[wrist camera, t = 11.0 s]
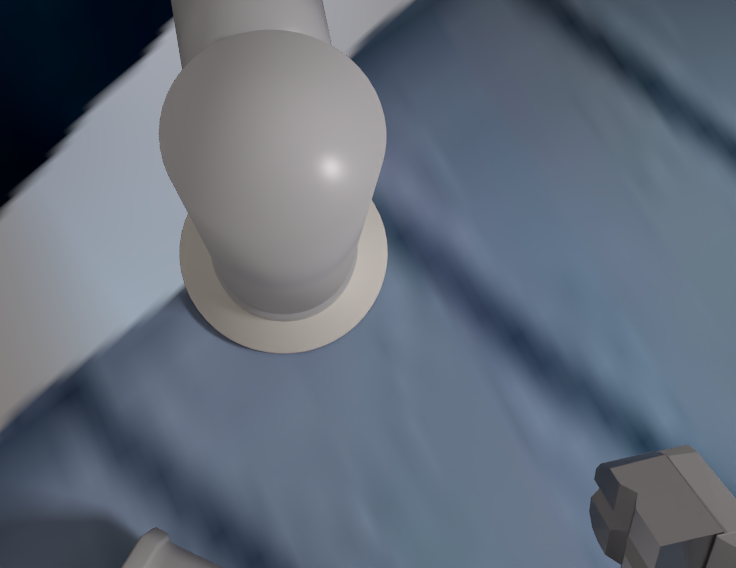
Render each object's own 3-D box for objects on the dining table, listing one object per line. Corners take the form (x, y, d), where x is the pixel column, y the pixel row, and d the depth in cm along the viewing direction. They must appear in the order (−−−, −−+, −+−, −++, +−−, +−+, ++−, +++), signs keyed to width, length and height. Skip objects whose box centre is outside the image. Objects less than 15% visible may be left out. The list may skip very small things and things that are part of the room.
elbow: (368, 307, 26) (414, 224, 16) (225, 333, 26) (171, 265, 15) (330, 121, 28) (349, -72, 17) (194, 141, 27) (123, -48, 16)
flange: (326, 124, 28) (326, 121, 28) (423, 292, 27) (424, 291, 27) (145, 210, 27) (143, 207, 26) (239, 392, 26) (239, 391, 25)
